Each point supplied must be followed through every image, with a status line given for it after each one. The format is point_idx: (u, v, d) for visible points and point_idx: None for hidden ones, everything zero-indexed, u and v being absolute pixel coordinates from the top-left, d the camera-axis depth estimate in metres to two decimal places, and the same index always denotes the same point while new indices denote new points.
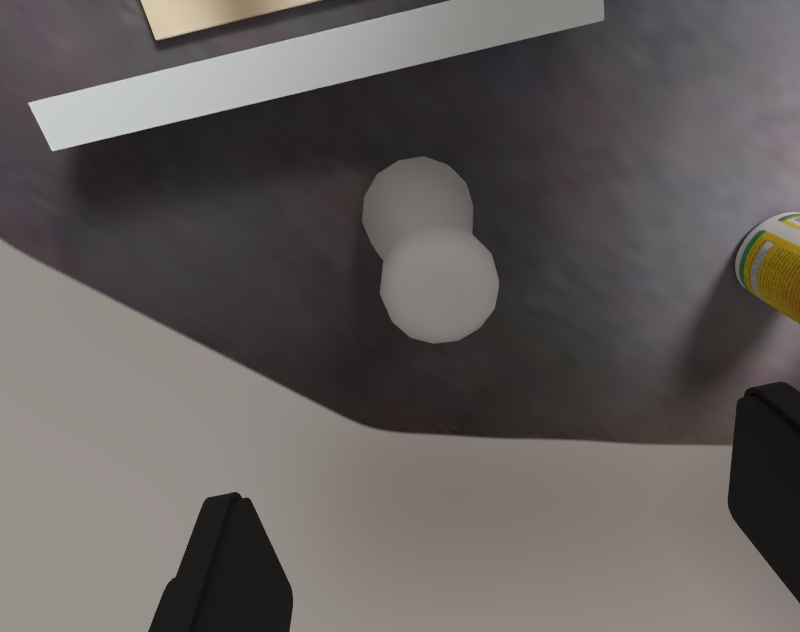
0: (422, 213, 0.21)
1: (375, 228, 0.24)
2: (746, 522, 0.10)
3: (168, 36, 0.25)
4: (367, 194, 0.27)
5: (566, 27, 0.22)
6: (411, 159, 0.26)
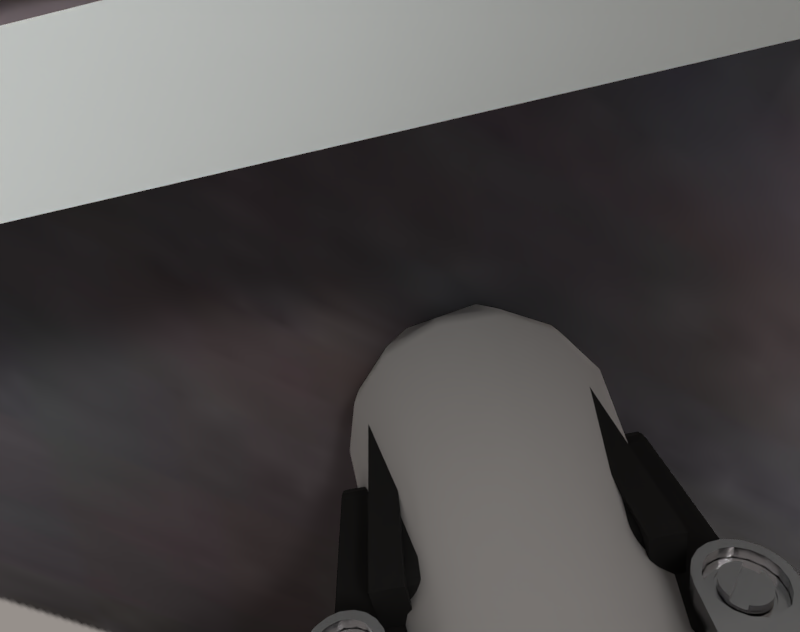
0: None
1: None
2: None
3: None
4: (362, 403, 0.11)
5: None
6: (471, 325, 0.10)
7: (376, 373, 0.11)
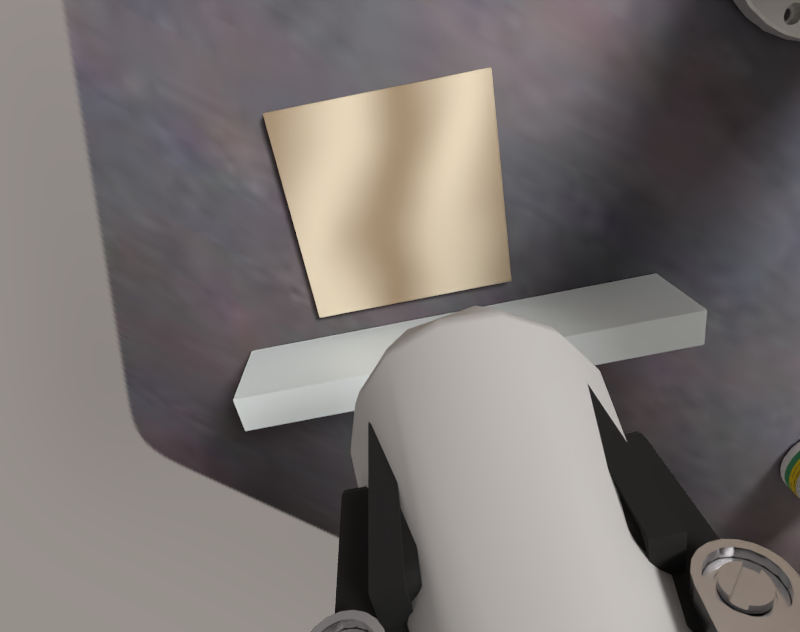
0: None
1: None
2: None
3: (330, 314, 0.30)
4: (362, 405, 0.11)
5: (674, 349, 0.27)
6: (472, 326, 0.10)
7: (377, 375, 0.11)
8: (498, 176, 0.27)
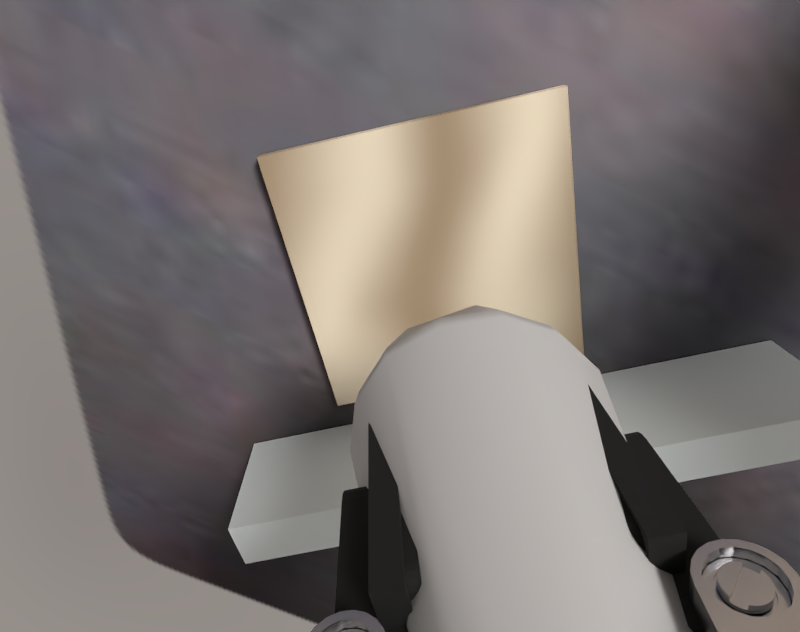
0: None
1: None
2: None
3: (351, 401, 0.23)
4: (362, 404, 0.11)
5: None
6: (471, 326, 0.10)
7: (376, 374, 0.11)
8: (571, 228, 0.20)
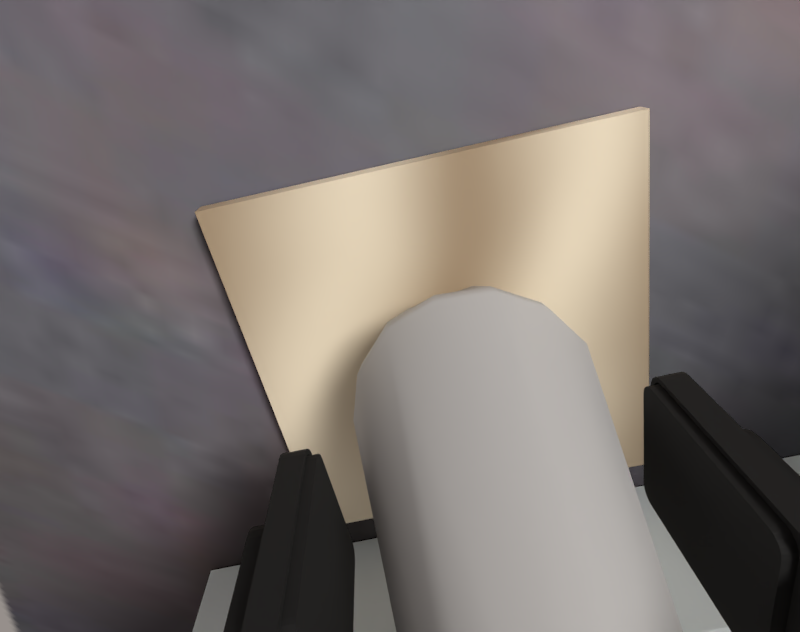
0: (530, 575, 0.06)
1: (380, 502, 0.09)
2: (657, 503, 0.11)
3: None
4: (364, 374, 0.12)
5: None
6: (465, 300, 0.11)
7: (377, 346, 0.12)
8: (642, 304, 0.14)
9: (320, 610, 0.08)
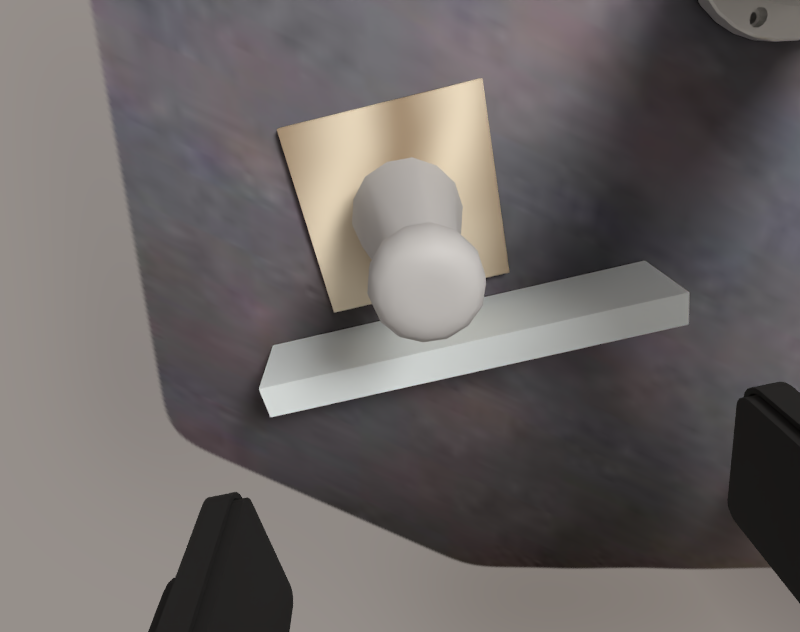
0: (409, 213, 0.21)
1: (364, 230, 0.24)
2: (746, 522, 0.10)
3: (343, 309, 0.32)
4: (356, 196, 0.27)
5: (660, 329, 0.29)
6: (399, 160, 0.26)
7: (362, 183, 0.27)
8: (492, 177, 0.29)
9: None
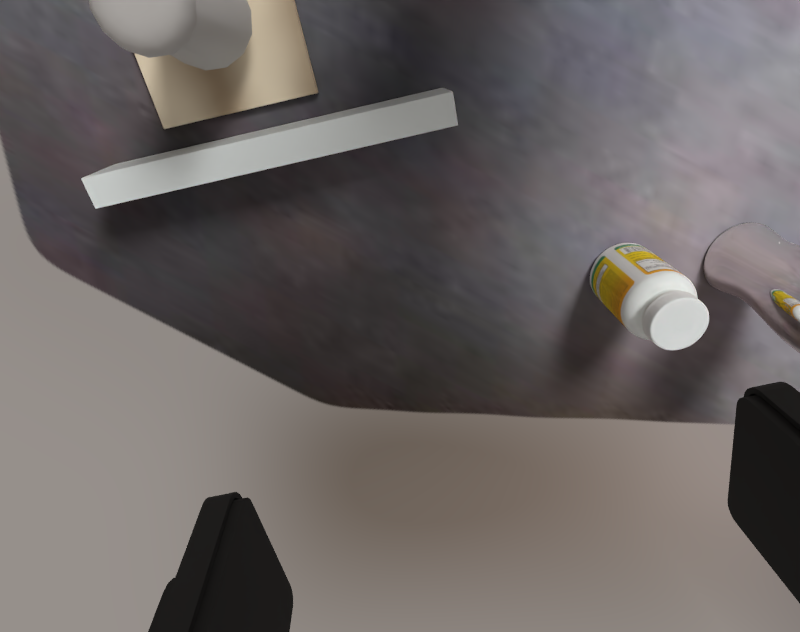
0: None
1: None
2: (746, 522, 0.10)
3: (172, 126, 0.36)
4: None
5: (433, 129, 0.33)
6: None
7: None
8: None
9: None
